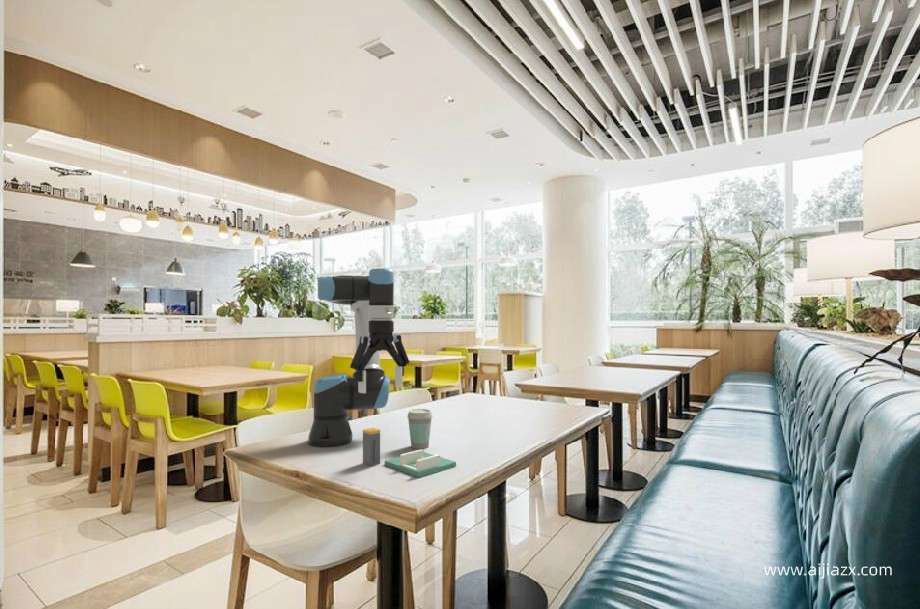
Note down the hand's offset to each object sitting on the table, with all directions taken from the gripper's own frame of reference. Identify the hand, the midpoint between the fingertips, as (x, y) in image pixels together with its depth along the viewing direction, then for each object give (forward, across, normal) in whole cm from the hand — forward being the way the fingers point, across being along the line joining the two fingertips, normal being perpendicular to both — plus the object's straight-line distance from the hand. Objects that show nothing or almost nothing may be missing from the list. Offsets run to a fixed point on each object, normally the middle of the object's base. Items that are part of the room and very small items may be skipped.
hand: (381, 390), depth 141 cm
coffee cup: (+22, +20, +4) cm, 30 cm away
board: (+22, +6, -11) cm, 25 cm away
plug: (+22, -2, +1) cm, 22 cm away
